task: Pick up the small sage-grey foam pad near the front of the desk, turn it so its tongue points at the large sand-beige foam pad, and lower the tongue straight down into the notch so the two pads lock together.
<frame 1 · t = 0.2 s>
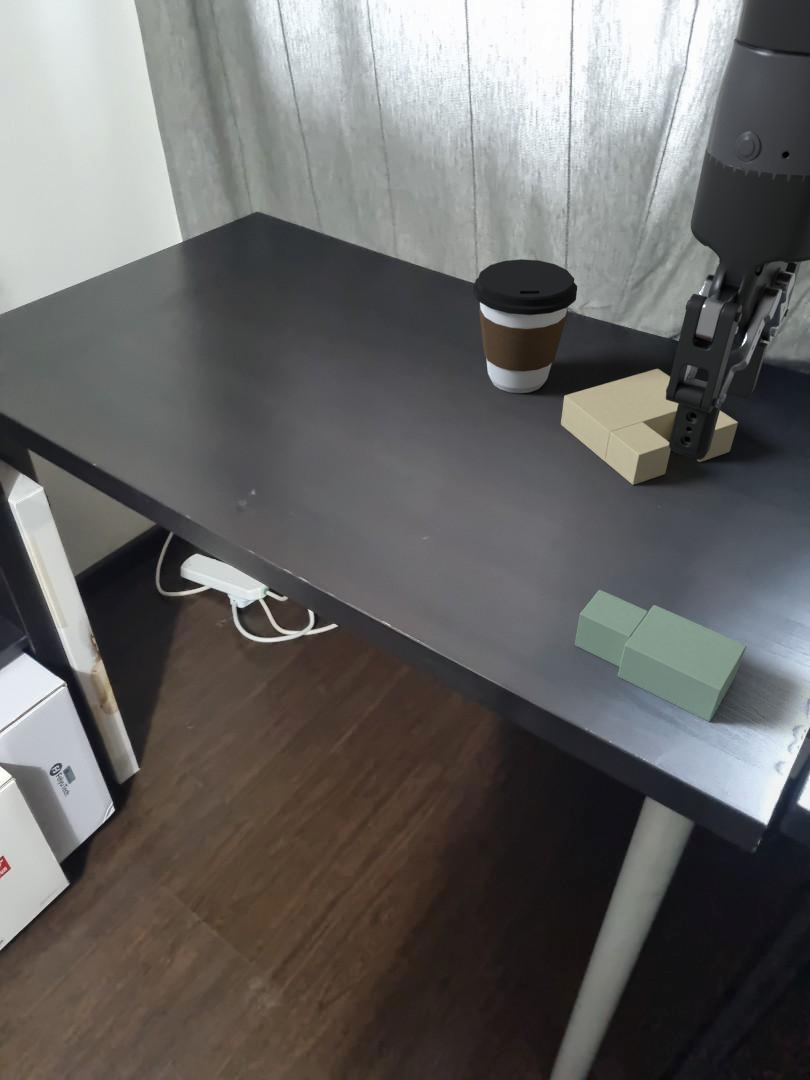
hand: (712, 421, 52), 19 cm above the table, tool pointing down, fingers open, 8 cm apart
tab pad: (675, 677, 61), on the table
coffee cup: (517, 381, 94), on the table
notch pad: (643, 437, 84), on the table
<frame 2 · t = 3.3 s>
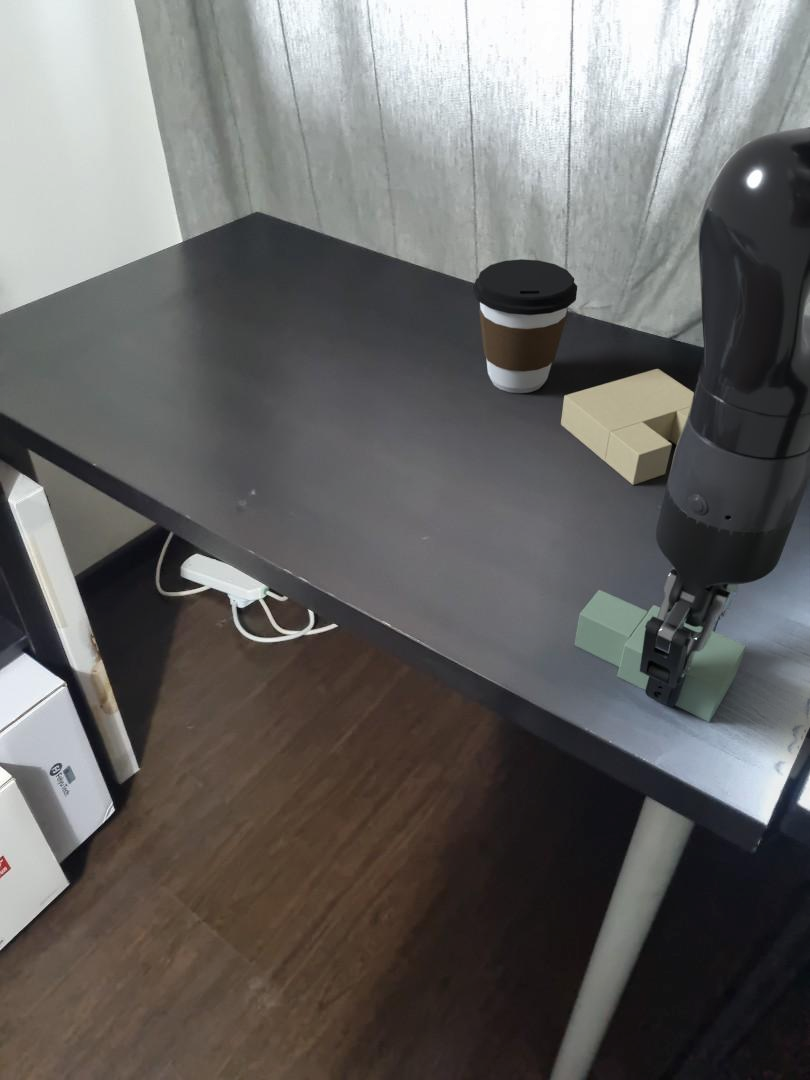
hand: (676, 673, 60), 0 cm above the table, tool pointing down, fingers closed on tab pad, 5 cm apart
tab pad: (675, 677, 61), on the table, touching gripper
everything else where it was.
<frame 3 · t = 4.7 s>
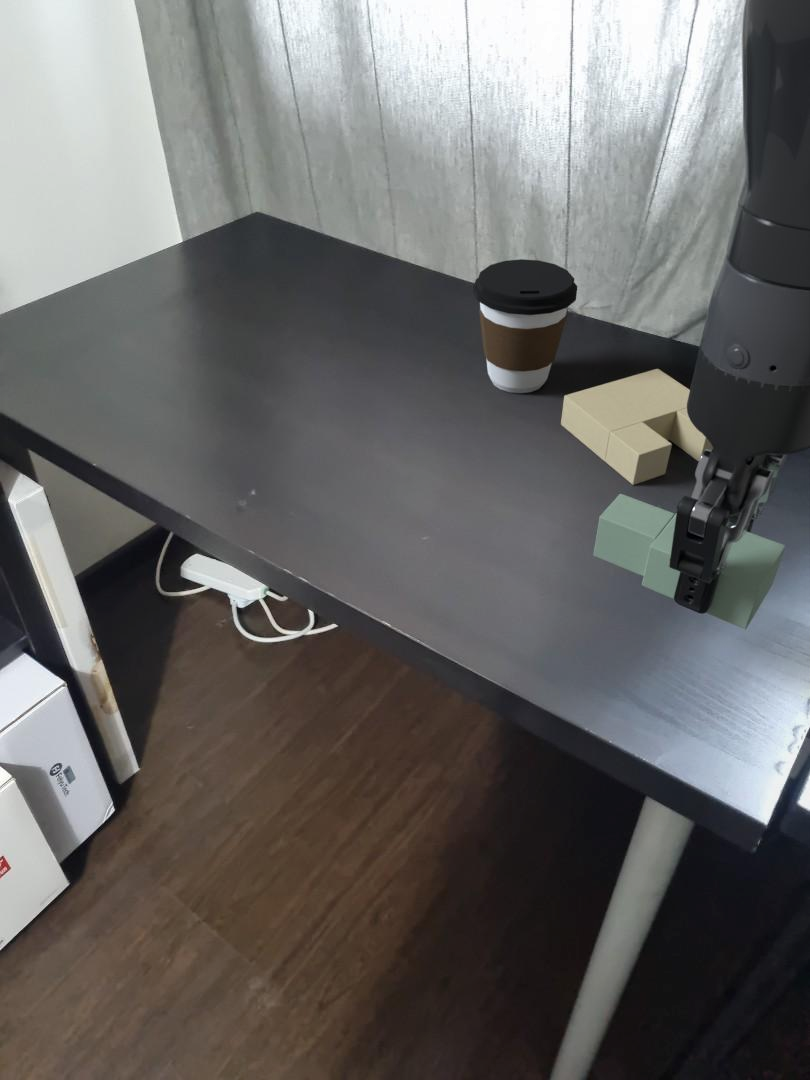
hand: (707, 580, 55), 10 cm above the table, tool pointing down, fingers closed on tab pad, 5 cm apart
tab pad: (706, 585, 55), point 9 cm above the table, touching gripper
everything else where it was.
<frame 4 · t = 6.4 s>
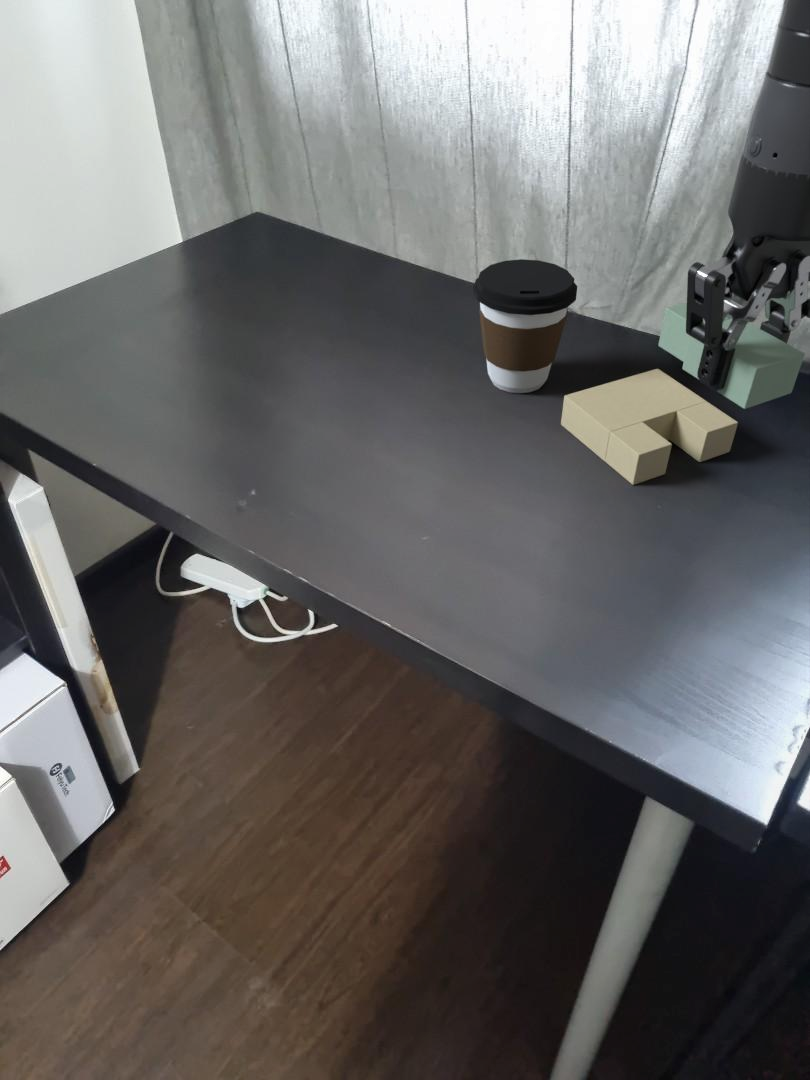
hand: (737, 376, 66), 14 cm above the table, tool pointing down, fingers closed on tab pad, 5 cm apart
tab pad: (735, 380, 66), point 14 cm above the table, touching gripper
everything else where it was.
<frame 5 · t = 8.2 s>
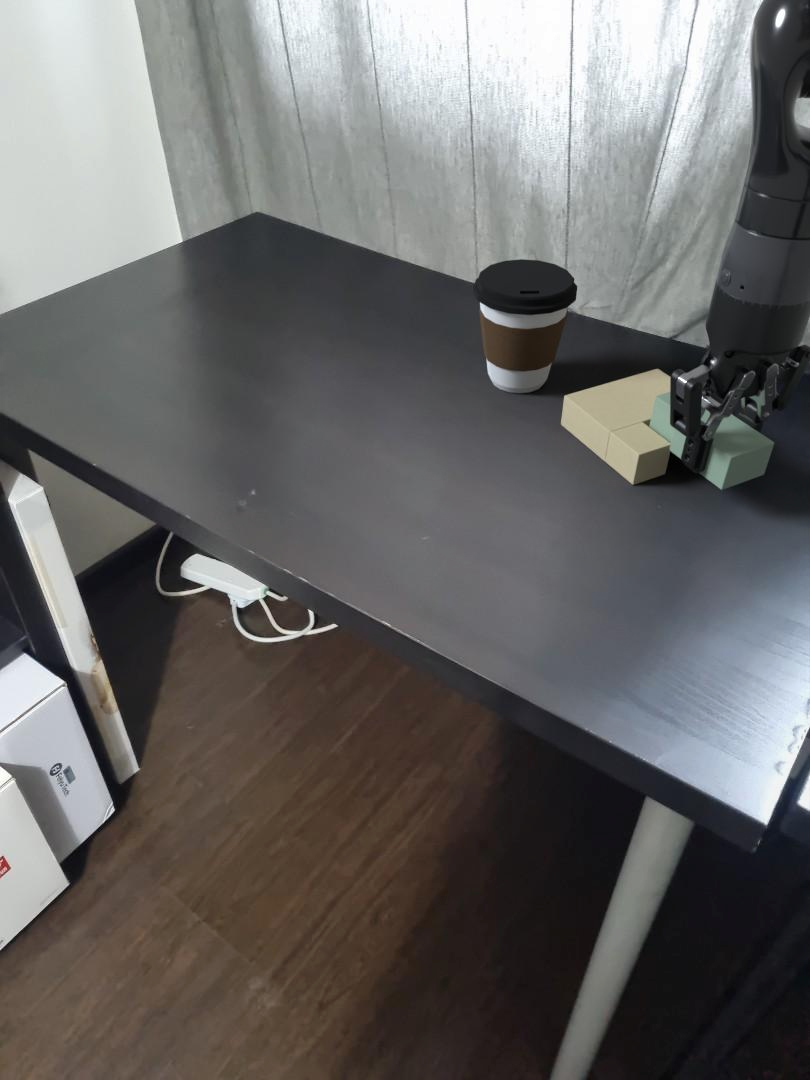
hand: (717, 458, 75), 3 cm above the table, tool pointing down, fingers closed on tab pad, 5 cm apart
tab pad: (715, 462, 76), point 3 cm above the table, touching gripper
everything else where it was.
when the fingers open (0 cm above the table, at t = 9.5 s): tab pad stays where it is, on the table.
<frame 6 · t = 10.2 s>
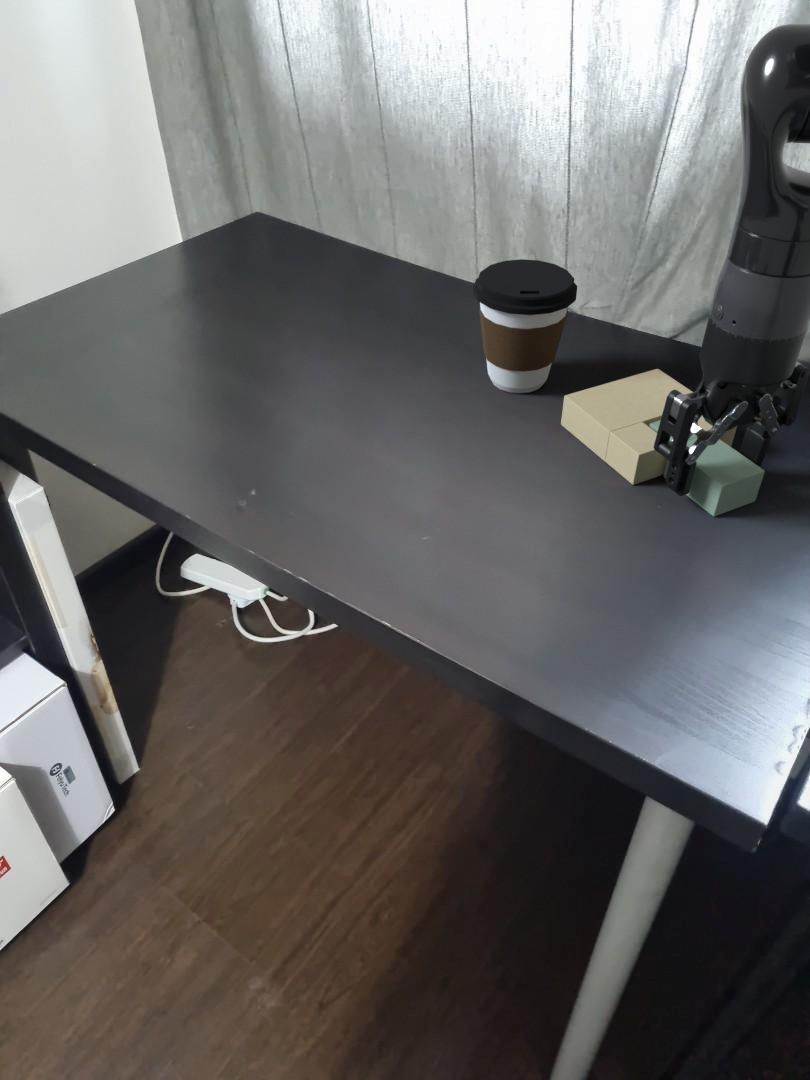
hand: (713, 477, 77), 1 cm above the table, tool pointing down, fingers open, 8 cm apart
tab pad: (708, 488, 78), on the table
everything else where it was.
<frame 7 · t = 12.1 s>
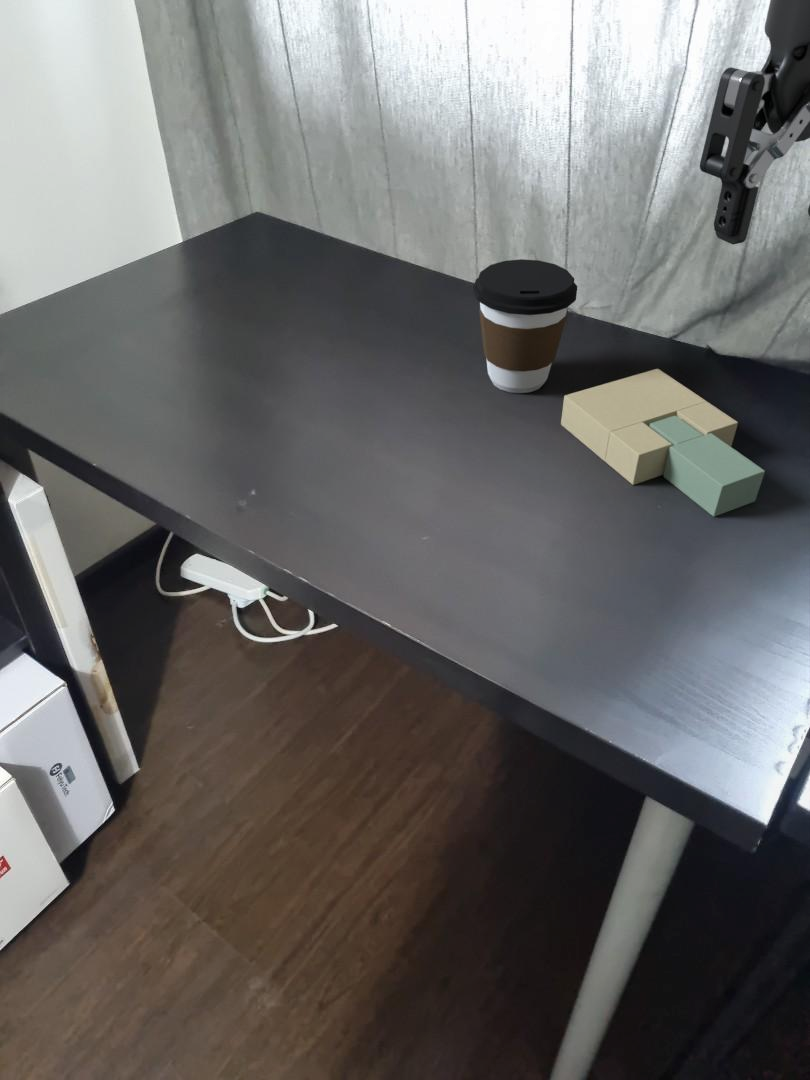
hand: (776, 229, 58), 26 cm above the table, tool pointing down, fingers open, 8 cm apart
nothing on the table moved.
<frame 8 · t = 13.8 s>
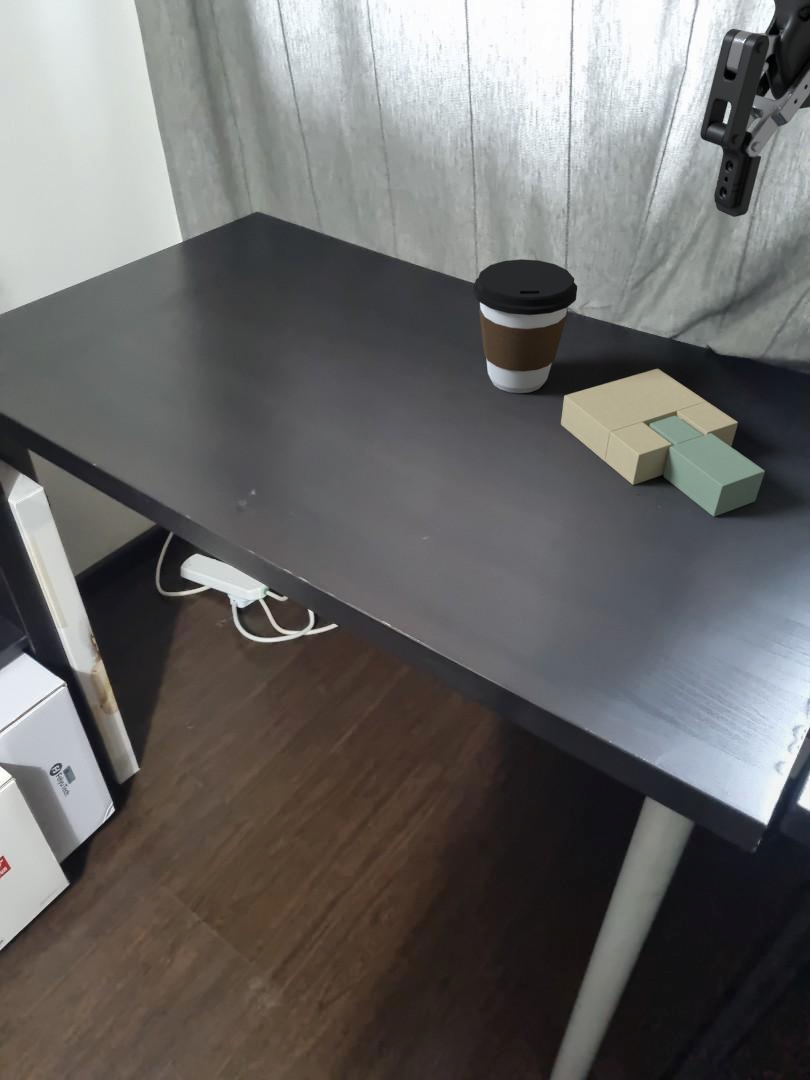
hand: (778, 202, 56), 28 cm above the table, tool pointing down, fingers open, 8 cm apart
nothing on the table moved.
at the end: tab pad 0.1 cm from the target spot on the table beside the notch pad, on the table; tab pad tilted 0°; the gripper is holding nothing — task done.
